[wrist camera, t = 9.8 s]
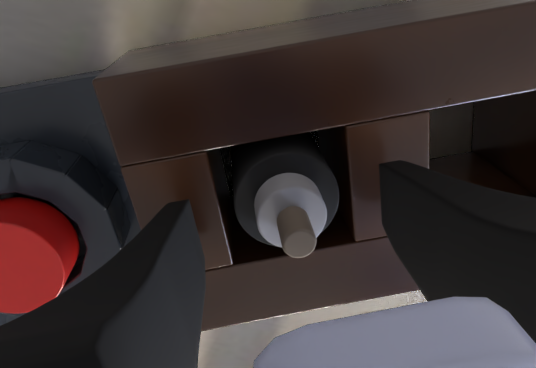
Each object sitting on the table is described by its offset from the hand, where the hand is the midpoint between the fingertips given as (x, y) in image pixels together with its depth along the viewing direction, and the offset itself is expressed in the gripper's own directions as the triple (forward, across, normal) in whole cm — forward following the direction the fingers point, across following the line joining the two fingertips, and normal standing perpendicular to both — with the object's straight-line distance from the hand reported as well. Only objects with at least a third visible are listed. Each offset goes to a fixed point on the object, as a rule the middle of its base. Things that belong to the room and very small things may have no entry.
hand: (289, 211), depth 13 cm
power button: (+3, +9, +1) cm, 10 cm away
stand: (+6, -3, 0) cm, 7 cm away
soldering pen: (+6, 0, 0) cm, 6 cm away
